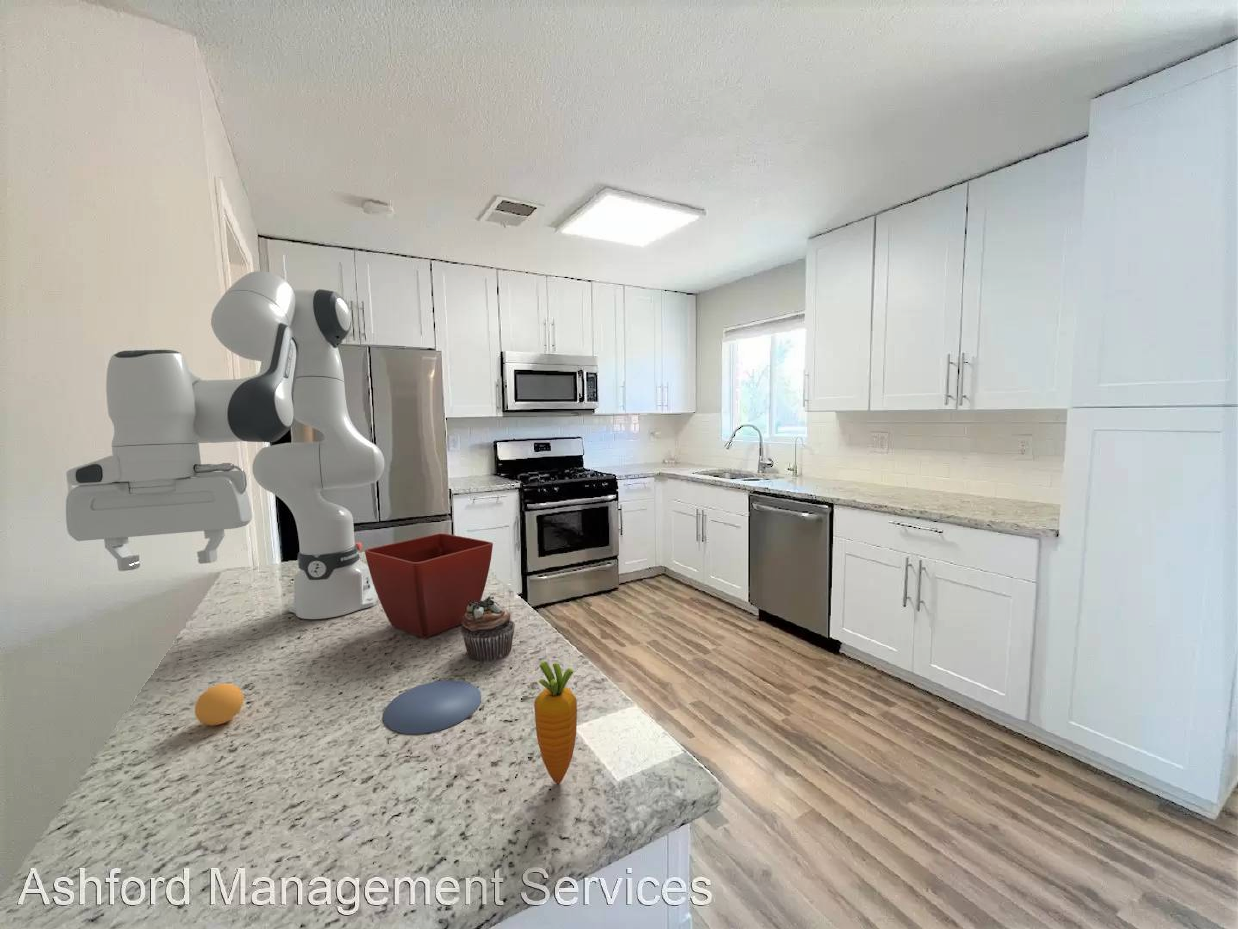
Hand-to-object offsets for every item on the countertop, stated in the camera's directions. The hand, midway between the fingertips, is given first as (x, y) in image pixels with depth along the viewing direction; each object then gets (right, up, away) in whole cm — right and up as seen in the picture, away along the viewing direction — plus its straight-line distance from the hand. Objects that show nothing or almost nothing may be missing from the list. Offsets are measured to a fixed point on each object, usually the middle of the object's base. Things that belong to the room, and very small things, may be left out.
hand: (169, 566), depth 69 cm
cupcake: (+38, -21, +24) cm, 50 cm away
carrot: (+55, -24, -10) cm, 61 cm away
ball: (+4, -21, +3) cm, 21 cm away
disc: (+34, -23, +7) cm, 42 cm away
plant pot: (+22, -20, +39) cm, 49 cm away
